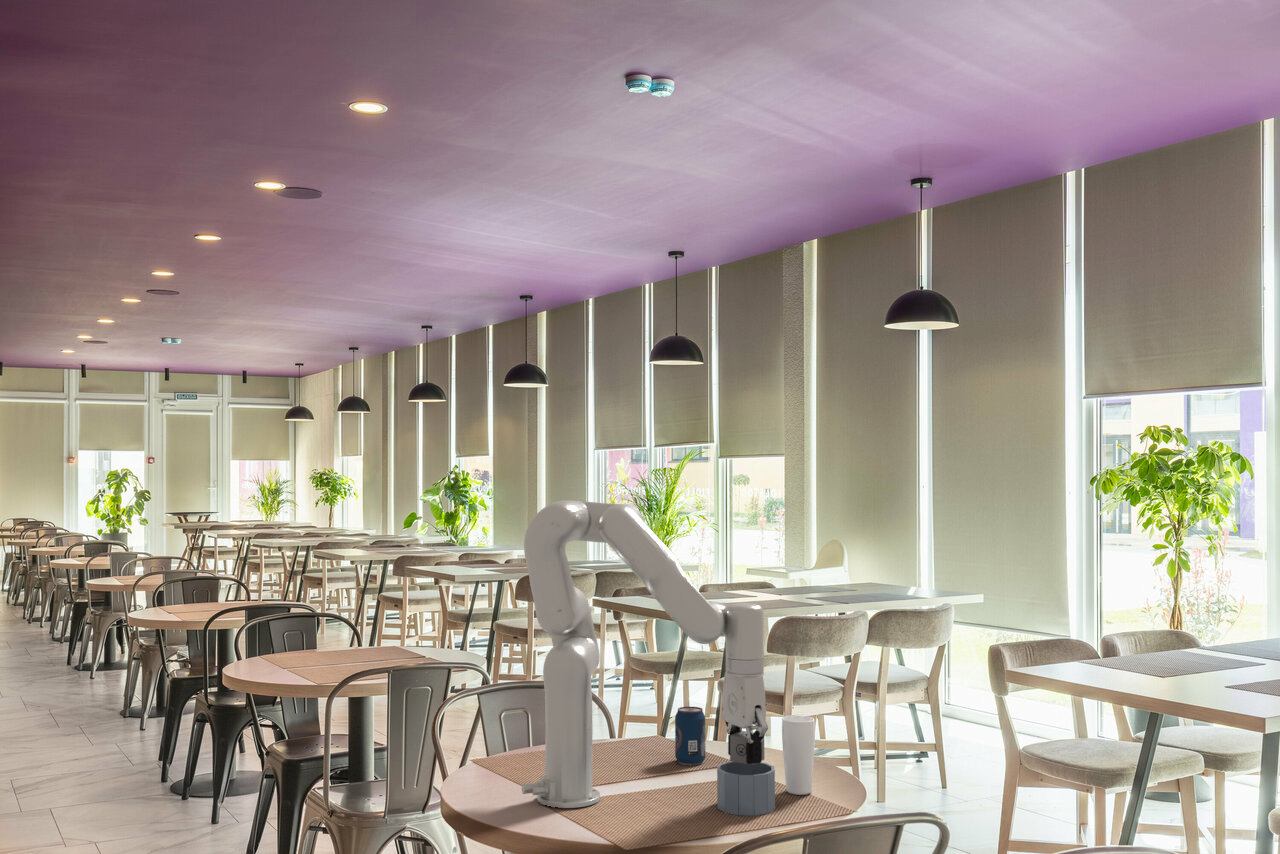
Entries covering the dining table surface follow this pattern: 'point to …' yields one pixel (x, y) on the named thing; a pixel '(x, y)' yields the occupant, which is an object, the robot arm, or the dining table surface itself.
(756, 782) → the cup
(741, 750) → the dice cube
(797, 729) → the drinking glass
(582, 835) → the dining table surface
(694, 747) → the soda can
